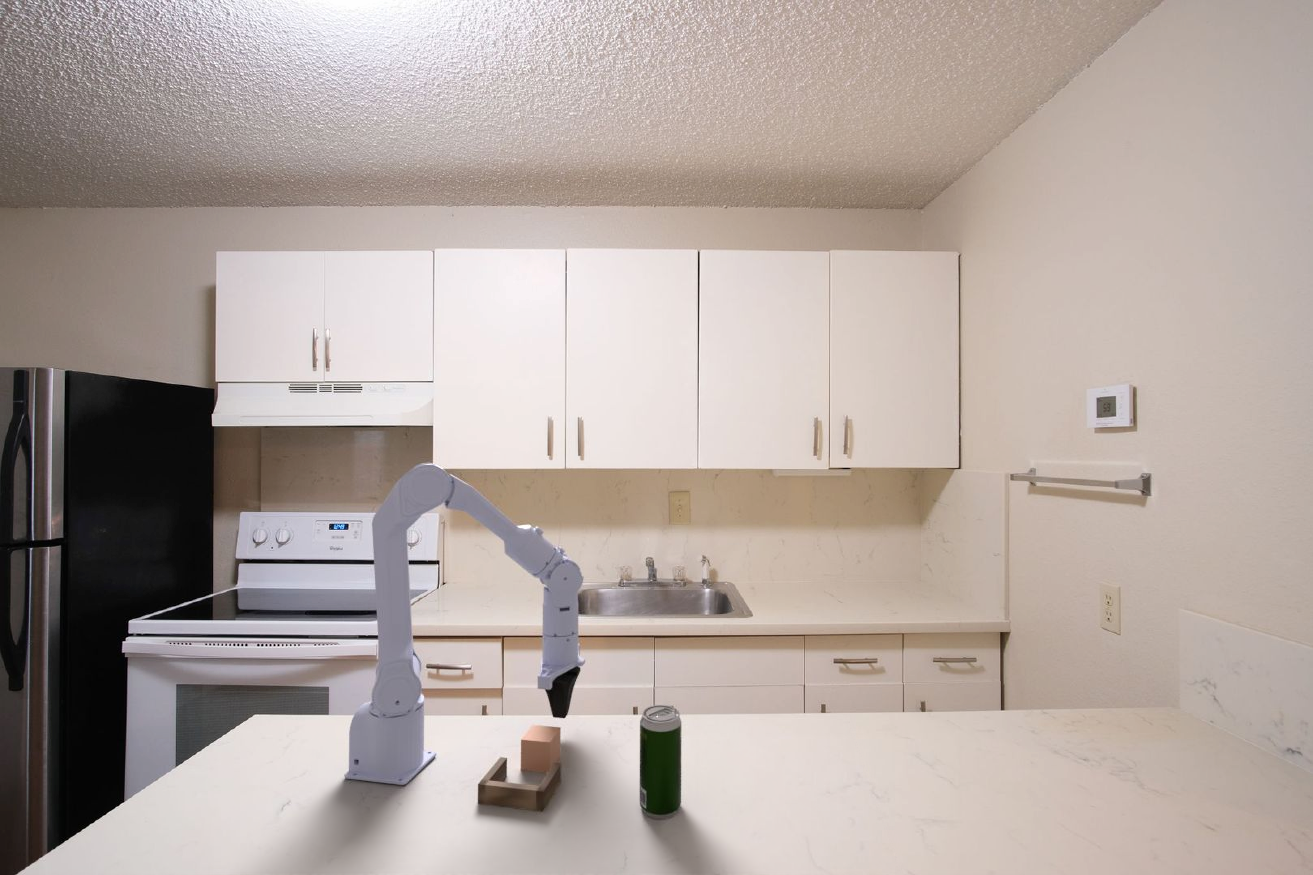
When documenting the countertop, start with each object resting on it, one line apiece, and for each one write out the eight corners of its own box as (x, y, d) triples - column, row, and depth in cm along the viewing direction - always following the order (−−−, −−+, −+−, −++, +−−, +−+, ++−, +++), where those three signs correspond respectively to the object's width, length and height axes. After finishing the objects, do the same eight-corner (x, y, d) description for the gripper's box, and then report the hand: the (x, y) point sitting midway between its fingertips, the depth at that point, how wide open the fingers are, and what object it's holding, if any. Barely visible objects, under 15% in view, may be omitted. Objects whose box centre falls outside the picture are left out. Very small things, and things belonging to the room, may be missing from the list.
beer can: (654, 826, 69) (654, 727, 69) (631, 803, 73) (632, 710, 73) (689, 811, 72) (689, 716, 72) (665, 789, 76) (666, 700, 76)
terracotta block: (520, 770, 81) (521, 739, 81) (532, 753, 85) (532, 724, 85) (549, 773, 80) (550, 742, 80) (560, 756, 84) (560, 727, 84)
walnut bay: (477, 803, 73) (478, 783, 73) (500, 774, 79) (500, 756, 79) (543, 811, 71) (543, 791, 72) (560, 781, 78) (561, 763, 78)
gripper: (569, 648, 83) (569, 741, 83) (596, 618, 97) (596, 697, 97) (524, 645, 84) (524, 736, 84) (558, 616, 98) (557, 694, 98)
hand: (560, 715), depth 91 cm, fingers closed
